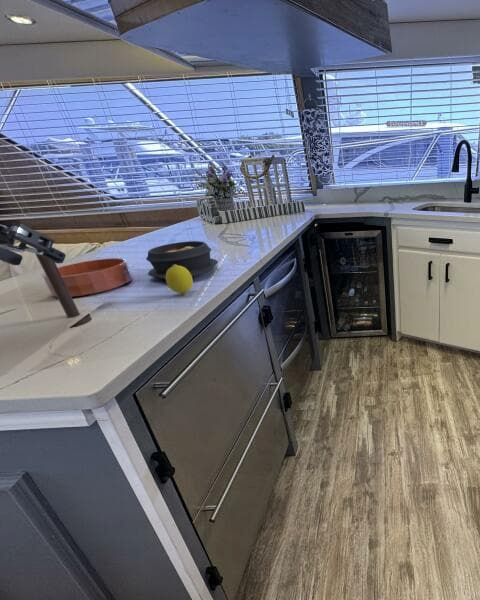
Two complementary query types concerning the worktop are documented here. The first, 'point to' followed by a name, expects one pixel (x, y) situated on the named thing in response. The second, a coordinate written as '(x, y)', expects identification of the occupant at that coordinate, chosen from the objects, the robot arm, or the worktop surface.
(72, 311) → the muddler
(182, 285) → the lemon
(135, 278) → the worktop surface
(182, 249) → the casserole
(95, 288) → the bowl
